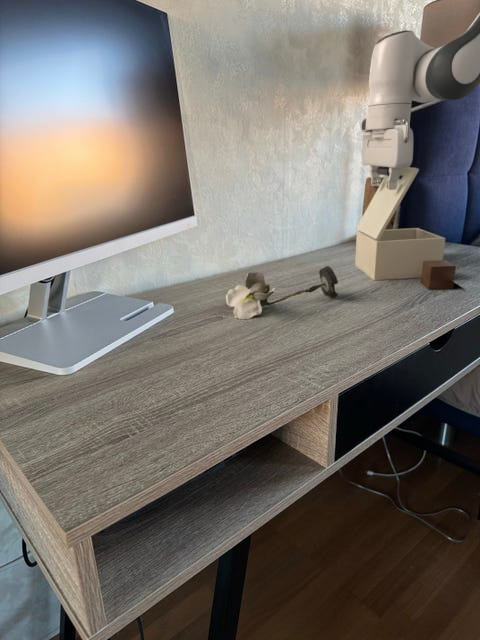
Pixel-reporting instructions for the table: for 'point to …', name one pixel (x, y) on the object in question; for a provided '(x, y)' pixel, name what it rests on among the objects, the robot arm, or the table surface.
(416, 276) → the beige open box
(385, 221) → the lid
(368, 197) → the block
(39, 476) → the table surface
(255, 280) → the artificial flower
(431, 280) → the cube
